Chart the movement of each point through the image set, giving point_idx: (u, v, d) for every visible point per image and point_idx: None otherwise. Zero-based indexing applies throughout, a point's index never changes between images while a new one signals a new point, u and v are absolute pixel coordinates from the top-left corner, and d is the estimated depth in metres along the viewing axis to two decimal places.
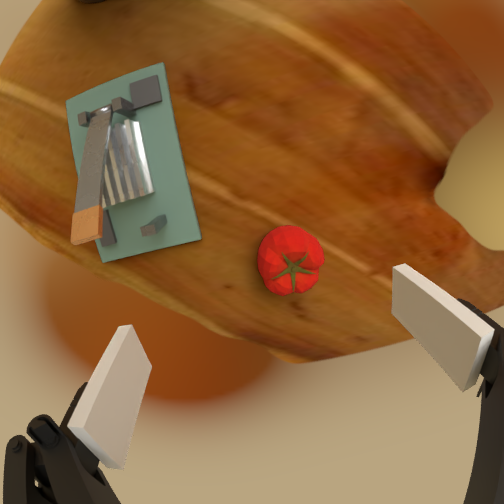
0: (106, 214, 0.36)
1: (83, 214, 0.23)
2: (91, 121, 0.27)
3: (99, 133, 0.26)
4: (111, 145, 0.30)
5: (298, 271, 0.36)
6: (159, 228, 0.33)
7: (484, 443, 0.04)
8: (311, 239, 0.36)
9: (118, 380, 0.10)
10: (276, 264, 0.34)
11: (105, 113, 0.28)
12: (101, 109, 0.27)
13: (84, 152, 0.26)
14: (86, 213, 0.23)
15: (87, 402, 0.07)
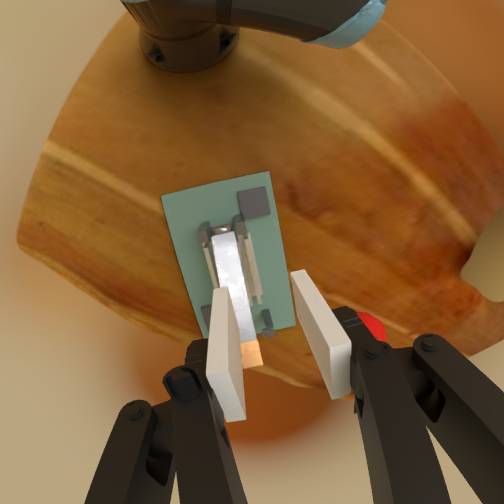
0: None
1: (243, 347, 0.32)
2: (214, 241, 0.36)
3: (231, 260, 0.35)
4: None
5: None
6: None
7: (372, 466, 0.05)
8: (379, 326, 0.45)
9: (232, 333, 0.12)
10: None
11: (228, 235, 0.36)
12: (223, 229, 0.36)
13: (220, 281, 0.34)
14: (246, 346, 0.32)
15: (219, 349, 0.10)
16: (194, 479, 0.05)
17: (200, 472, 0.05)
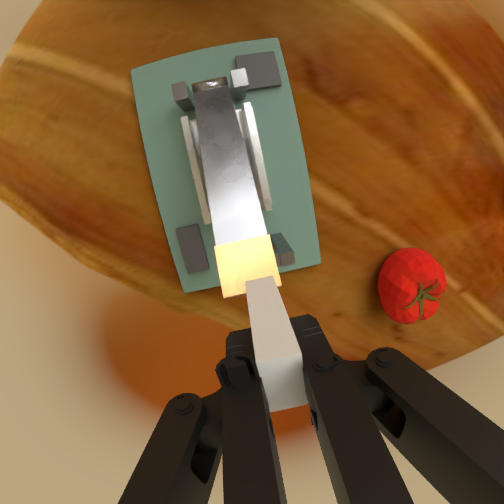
0: (197, 231, 0.29)
1: (239, 249, 0.16)
2: (196, 97, 0.20)
3: (221, 115, 0.19)
4: None
5: (425, 298, 0.29)
6: None
7: (333, 479, 0.05)
8: (437, 264, 0.29)
9: None
10: (413, 294, 0.27)
11: (219, 88, 0.20)
12: (211, 82, 0.20)
13: (202, 142, 0.19)
14: (245, 248, 0.16)
15: (265, 338, 0.10)
16: (241, 471, 0.05)
17: (248, 464, 0.05)
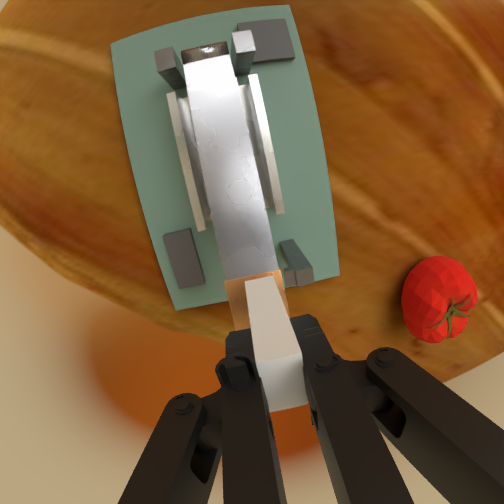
0: (189, 238, 0.23)
1: None
2: (188, 72, 0.15)
3: (222, 104, 0.15)
4: None
5: (455, 314, 0.23)
6: None
7: (334, 479, 0.05)
8: (469, 276, 0.23)
9: None
10: (444, 312, 0.22)
11: (218, 60, 0.15)
12: (207, 50, 0.14)
13: (200, 144, 0.15)
14: None
15: (265, 338, 0.10)
16: (241, 471, 0.05)
17: (248, 464, 0.05)
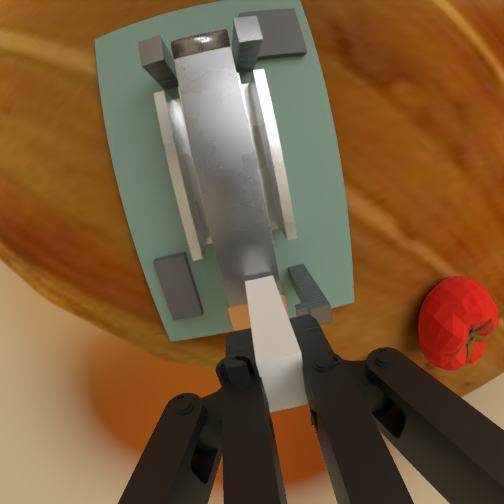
0: (184, 264, 0.20)
1: None
2: (180, 70, 0.12)
3: (223, 112, 0.13)
4: None
5: (474, 340, 0.20)
6: None
7: (333, 479, 0.05)
8: (490, 298, 0.20)
9: None
10: (466, 339, 0.18)
11: (216, 54, 0.12)
12: (203, 42, 0.11)
13: (198, 162, 0.13)
14: None
15: (265, 338, 0.10)
16: (241, 471, 0.05)
17: (248, 464, 0.05)
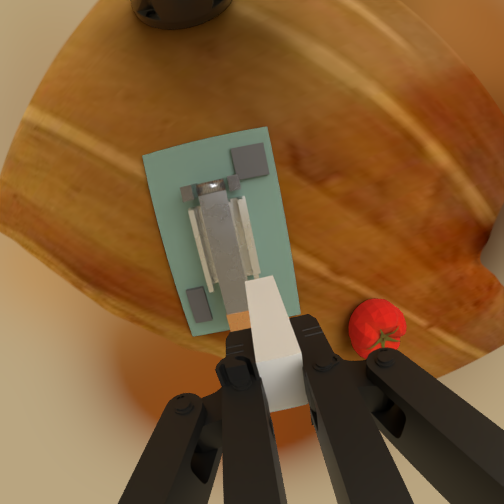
0: (202, 292, 0.37)
1: (238, 316, 0.33)
2: (202, 203, 0.30)
3: (223, 226, 0.30)
4: None
5: (387, 340, 0.37)
6: None
7: (333, 479, 0.05)
8: (398, 313, 0.37)
9: None
10: (374, 339, 0.35)
11: (219, 194, 0.30)
12: (212, 189, 0.29)
13: (212, 250, 0.31)
14: (241, 316, 0.33)
15: (265, 338, 0.10)
16: (241, 471, 0.05)
17: (248, 464, 0.05)
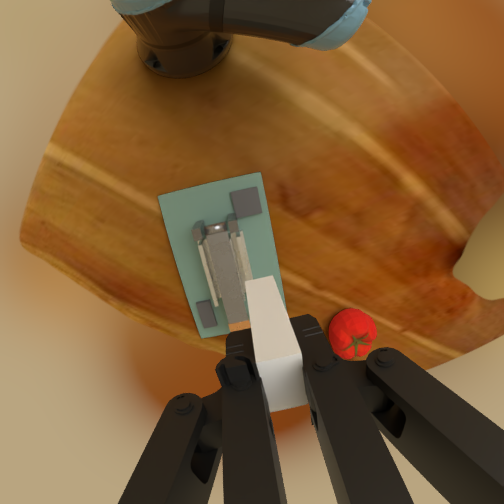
0: (209, 305, 0.47)
1: (237, 325, 0.42)
2: (208, 240, 0.39)
3: (225, 258, 0.40)
4: None
5: (359, 343, 0.47)
6: None
7: (333, 479, 0.05)
8: (369, 321, 0.46)
9: None
10: (347, 342, 0.45)
11: (222, 234, 0.39)
12: (216, 230, 0.38)
13: (217, 276, 0.40)
14: (240, 325, 0.42)
15: (265, 338, 0.10)
16: (241, 471, 0.05)
17: (248, 464, 0.05)
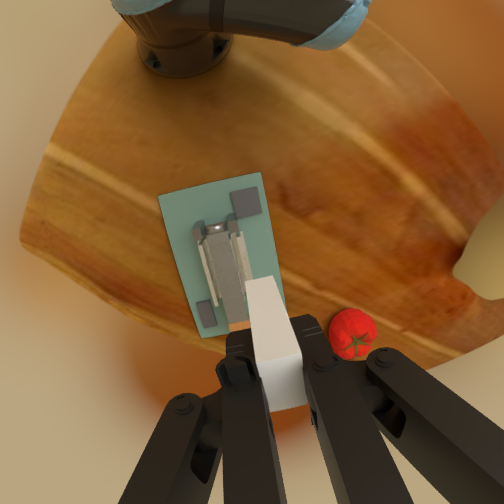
0: (209, 305, 0.47)
1: (237, 325, 0.42)
2: (208, 240, 0.39)
3: (225, 258, 0.40)
4: None
5: (359, 343, 0.46)
6: None
7: (333, 479, 0.05)
8: (369, 321, 0.46)
9: None
10: (347, 342, 0.45)
11: (222, 234, 0.39)
12: (216, 230, 0.38)
13: (217, 276, 0.40)
14: (240, 325, 0.42)
15: (265, 338, 0.10)
16: (241, 471, 0.05)
17: (248, 464, 0.05)
